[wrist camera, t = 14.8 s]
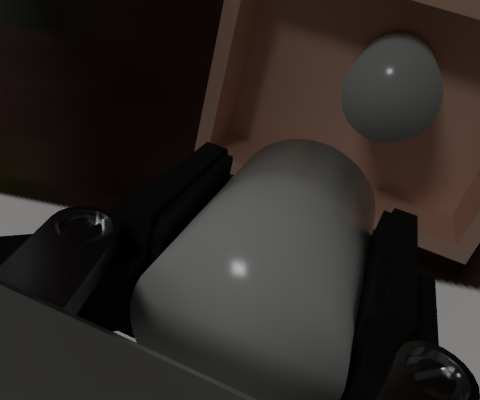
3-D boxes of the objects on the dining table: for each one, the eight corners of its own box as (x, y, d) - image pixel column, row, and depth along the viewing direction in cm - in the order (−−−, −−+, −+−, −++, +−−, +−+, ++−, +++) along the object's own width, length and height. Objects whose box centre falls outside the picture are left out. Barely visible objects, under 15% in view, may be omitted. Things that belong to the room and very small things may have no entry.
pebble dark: (372, 19, 22) (361, 32, 17) (451, 43, 21) (462, 63, 17) (344, 95, 24) (328, 124, 20) (416, 119, 24) (416, 155, 19)
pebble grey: (251, 118, 12) (139, 213, 7) (399, 168, 11) (386, 312, 6) (223, 238, 14) (122, 373, 9) (346, 287, 13) (306, 462, 8)
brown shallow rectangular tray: (264, -66, 23) (238, -72, 19) (583, 23, 20) (616, 34, 17) (218, 137, 29) (192, 159, 25) (458, 226, 26) (465, 264, 23)
